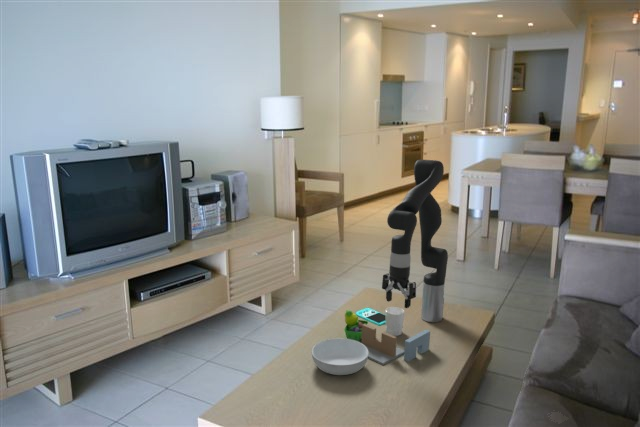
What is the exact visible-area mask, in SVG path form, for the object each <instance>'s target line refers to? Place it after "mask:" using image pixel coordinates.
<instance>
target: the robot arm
mask: <svg viewBox="0 0 640 427" xmlns="http://www.w3.org/2000/svg"><path fill="white" fill-rule="evenodd" d="M413 168H414V169H413V177H414V183H415V186H414V187H413V188H411V189H410V190H408V192H407V193H406V194H405V196H404V198H403V199H402V201H401V202H400V203H399V204H397V205H396V206H395V207H393V209H391V211H389V214H388V215H387V218H386V219H387V220H386V221H387V225H388V227H389V228H391V229H392V230H398V231H404V234H398V235H394V236H392V238H391V247H390V256H389V271H388V272H389V273H385V274H383V275H382V283H381V284H382V285H381V289H382V290H384V291H385V292H386V293H385V299H386V302H388V303H389V302H391V301H392V300H393V299H392V298H393V289H394V290H397V291H399V292H401V294H402V295H403V296H404V298H405V299H404V308H405V309H409V308H410V307H411V304H412V299H414V298H416V297H417V283H416V281H413V282H411V281H410V280H409V278H410V275H411V274H410V273H411V260H412V259H411V246H412V239H413V235H414V232H415V230H416V227H417V224H418V220H419V225H420V226H419V227H420V228H419V229H420V240H421V241H420V259H421V264H422V265H423V266H424V267H427V268H431V269H435V270H436V271H435V272H429V273H426V274H425V275H424V276H423V284H422V286H423V287H422V300H421V302H422V303H421V313H420V315H421V316H420V317H421V320H424V321H425V322H428V323H439V322H441V321H442V320H443V317H444V306H445V297H444V294H445V283H446V282H445V281H446V277H447V276H446V275H447V266H448V258H449V254H448V251H447V249H445V248H443V247H441V248H440V247H436V246H432V239H433V237H434V236H435V235H436V233H437V232H438V230H439V229H440V227H441V225H442V221H443V220H442V219H443V218H442V209H441V206H440V204H439V203H438V201H437V200H436V199H435V197H434V196H433V195H432V192H433V191H434V189H435V188H436V187H437V186H439V184H440V182H442V179H443V177H444V172H445V171H444V170H445V168H444V164H443V162H442V161H441V160H437V159H436V160H435V159H434V160H433V159H417V160H416V162H414V167H413ZM417 214H418V217H417ZM418 218H419V219H418Z"/></svg>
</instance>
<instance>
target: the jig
mask: <svg viewBox="0 0 640 427" xmlns="http://www.w3.org/2000/svg"><path fill="white" fill-rule="evenodd" d="M380 338H381V339H379V338H377V328H376V327H374V326H372V325H369V324H363V325H362V338H361V340H360V343H362V344H363V345H365V346H366V347H367V349H368V352H369V354H368V359H369V360H371V361H374V362H376V363H378V364H379V365H382V366H384V365H385V364H387V363H390V362H391V361H393V360H396V358H398V357H400V356H401V355H404V349H402V348H400V347H397V341H398V340H397V339H398V338H397V336H393V335H391V334H388V333H386V331H382V332H381V336H380Z"/></svg>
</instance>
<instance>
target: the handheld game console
mask: <svg viewBox="0 0 640 427" xmlns="http://www.w3.org/2000/svg"><path fill="white" fill-rule="evenodd" d="M355 315H357V317H358V318H360V319H363V320H364V321H368V322H370V323H372V324H375V325H377V326H380V327H381V326H382V325H386V321H385V317H386V313H385V314H384V313H382V312H379V311H376V310H375V309H372V308H371V307H370V308H369V307H365V308H363V309H360V310H358V311H356V312H355Z"/></svg>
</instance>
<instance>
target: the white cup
mask: <svg viewBox="0 0 640 427" xmlns="http://www.w3.org/2000/svg"><path fill="white" fill-rule="evenodd" d="M384 312H385V315H386V317H385V321H386V323H385V332H386V333H388V334H391V335H393V336H396V337H397V336H400V335H402V333H403V327H404V318H405V310H404V309H403V308H401V307H399V306H397V307H396V306H389V307H386V308H385V311H384Z"/></svg>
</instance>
